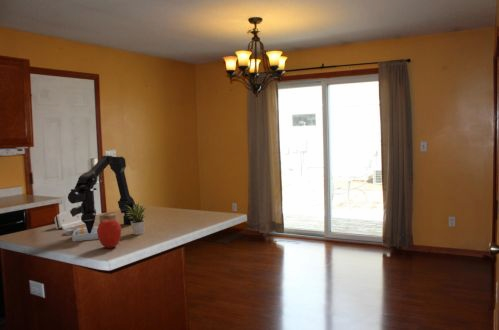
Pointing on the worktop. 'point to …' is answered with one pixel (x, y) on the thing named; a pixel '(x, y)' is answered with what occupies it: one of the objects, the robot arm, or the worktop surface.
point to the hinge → (67, 220)
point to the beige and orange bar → (84, 230)
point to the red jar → (109, 233)
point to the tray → (84, 236)
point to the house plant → (137, 219)
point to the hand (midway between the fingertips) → (89, 231)
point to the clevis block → (102, 217)
